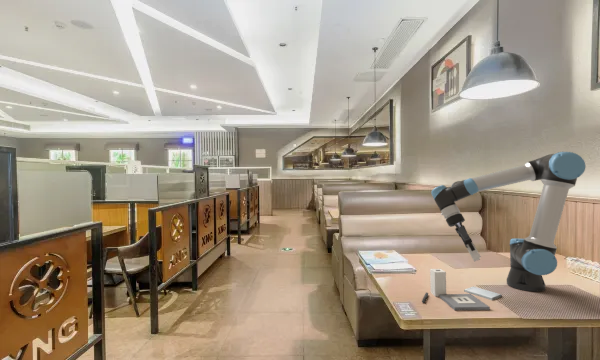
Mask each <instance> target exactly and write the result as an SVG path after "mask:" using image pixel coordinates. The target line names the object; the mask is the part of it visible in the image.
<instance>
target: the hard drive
mask: <svg viewBox="0 0 600 360" xmlns="http://www.w3.org/2000/svg"><path fill="white" fill-rule="evenodd" d="M463 292H464V293H466V294H472V295H473V296H475V297H480V298H483V299H486V300H490V301H494V300H496V299H497V300H498V299H499V298H502V297H503V295H502V294H501V293H497V292H494V291H491V290H487V289H484V288H480V287H477V286H471V287H468V288H465V289H464V290H463Z"/></svg>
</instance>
